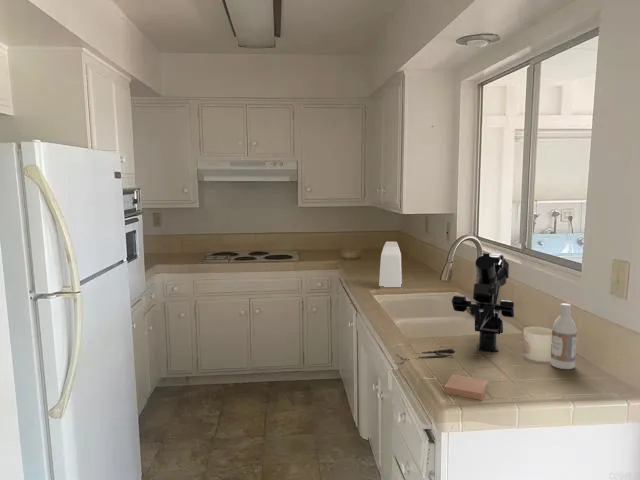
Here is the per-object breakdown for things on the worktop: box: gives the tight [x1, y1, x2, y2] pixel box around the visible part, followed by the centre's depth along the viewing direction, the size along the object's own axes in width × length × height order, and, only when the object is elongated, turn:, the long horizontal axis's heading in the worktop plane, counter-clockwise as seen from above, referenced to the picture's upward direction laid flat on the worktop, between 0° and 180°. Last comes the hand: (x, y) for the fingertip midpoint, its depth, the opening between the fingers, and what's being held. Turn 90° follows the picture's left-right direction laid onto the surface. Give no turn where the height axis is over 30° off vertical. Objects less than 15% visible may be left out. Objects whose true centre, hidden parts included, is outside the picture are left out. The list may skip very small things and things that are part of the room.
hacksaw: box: [394, 348, 456, 365], centre depth 163 cm, size 24×10×1 cm, turn 97°
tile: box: [444, 374, 489, 401], centre depth 137 cm, size 2×10×10 cm
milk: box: [378, 241, 403, 287], centre depth 274 cm, size 12×12×26 cm
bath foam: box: [550, 302, 578, 370], centre depth 155 cm, size 7×7×20 cm
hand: (479, 329), depth 152 cm, fingers closed
